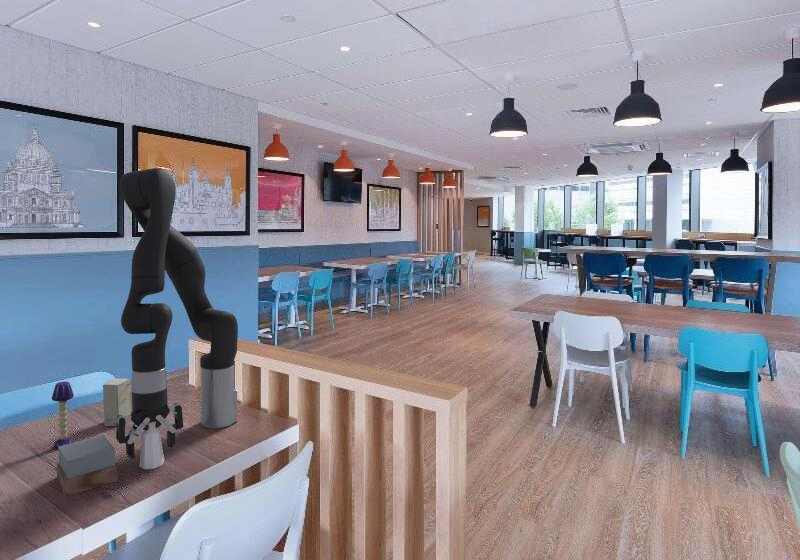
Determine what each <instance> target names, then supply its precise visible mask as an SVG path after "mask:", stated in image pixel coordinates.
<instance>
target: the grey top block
mask: <svg viewBox="0 0 800 560" xmlns="http://www.w3.org/2000/svg"><path fill="white" fill-rule="evenodd" d="M57 452H58V453H57V454H58V462H59V464H60V466H61V468H62V469H63V471H64V473H65V475H66V476H67V478H68V479H70V478H73V477H77V476H80V475H84V474H87V473H90V472H94V471H97V470H101V469H104V468H107V467H111V466H114V465H115V464H116V449H115V447H114V446H113V445H112V444H111V442H110V441H109V440H108V439H107V437H106V436H105V435H100V436H95V437H91V438H87V439H83V440H80V441H75V442H73V443H71V444H67V445H63V446H59V447H58V449H57Z"/></svg>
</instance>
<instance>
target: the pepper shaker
mask: <svg viewBox="0 0 800 560" xmlns="http://www.w3.org/2000/svg"><path fill="white" fill-rule="evenodd" d="M155 424H156V422H151V423H148V426H149V428H148V429H149V430H146V431H145V430H142V432H141V442H140V444H141V445H140V455H139V456H140V457H139V468H141V469H143V470H155V469H157V468H159V467H162V465H163V464H164V463H165V455H164V449H163V442H162V436H161V431H160V428H156V425H155Z"/></svg>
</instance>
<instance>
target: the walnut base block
mask: <svg viewBox="0 0 800 560" xmlns="http://www.w3.org/2000/svg"><path fill="white" fill-rule="evenodd" d="M56 476H57V480H58V483H59V485H60V488H61V491H62V493H63V495H64V497H68V496H70V494H71V495H74V494H77V493H81V492H83V491H84V492H85V491H88V490H90V489H95V488H98V487H101V486H105V485H108V484H111V483H114V482H115V483H116V482H118V481H119V480H118V477H119V476H118V465H117V464H116V463H115V465H114V466H111V467H107V468H104V469H101V470H97V471H94V472H90V473H87V474H84V475H80V476H77V477H73V478H70V479H68V478H67V476H66V475H65V473H64V471H63V469H62V468H61V466H60V464H59V461H58V462H56Z"/></svg>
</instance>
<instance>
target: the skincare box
mask: <svg viewBox="0 0 800 560" xmlns="http://www.w3.org/2000/svg"><path fill="white" fill-rule="evenodd" d="M130 391H131V389H130V378H123V377H122V378H113V379H111V380H110V381H107V382H105V383H104V384H102V393H103V394H102V397H103V417H104V426H105V427H108V426H109V427H117V416H119V415H122V416H128V415H131V413H132V409H131V408H132V406H131V392H130Z"/></svg>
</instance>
